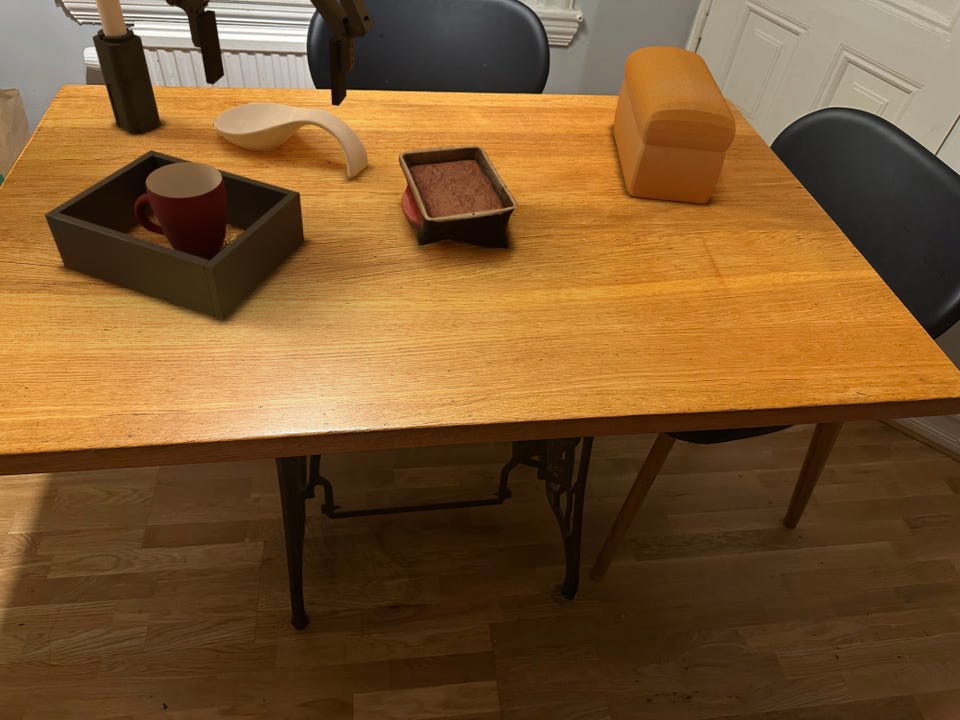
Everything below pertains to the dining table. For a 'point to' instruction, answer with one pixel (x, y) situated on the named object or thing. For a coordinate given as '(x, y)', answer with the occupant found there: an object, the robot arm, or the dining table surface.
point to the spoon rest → (286, 129)
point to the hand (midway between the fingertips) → (277, 90)
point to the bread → (671, 126)
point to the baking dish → (456, 197)
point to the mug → (186, 207)
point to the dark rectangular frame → (165, 271)
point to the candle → (125, 71)
